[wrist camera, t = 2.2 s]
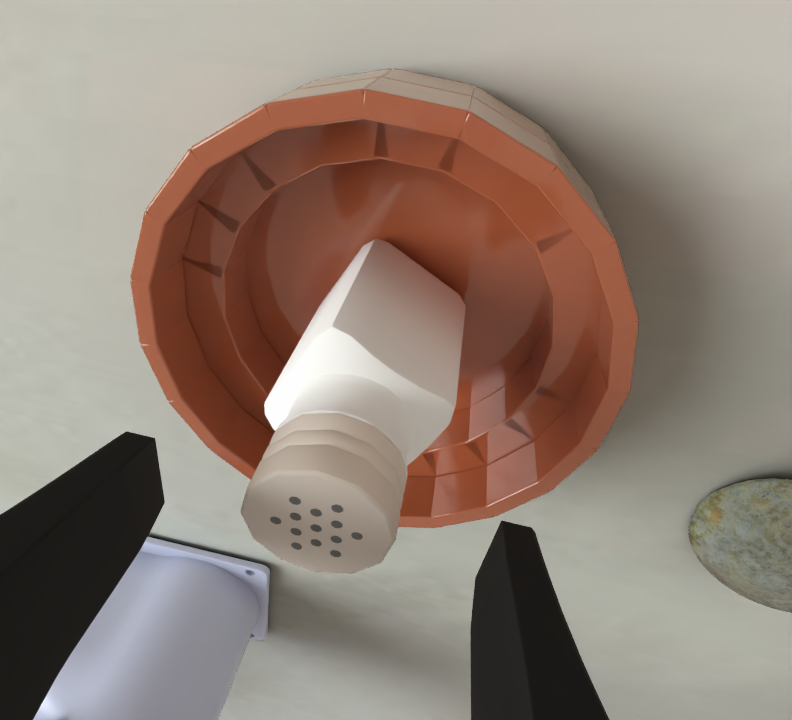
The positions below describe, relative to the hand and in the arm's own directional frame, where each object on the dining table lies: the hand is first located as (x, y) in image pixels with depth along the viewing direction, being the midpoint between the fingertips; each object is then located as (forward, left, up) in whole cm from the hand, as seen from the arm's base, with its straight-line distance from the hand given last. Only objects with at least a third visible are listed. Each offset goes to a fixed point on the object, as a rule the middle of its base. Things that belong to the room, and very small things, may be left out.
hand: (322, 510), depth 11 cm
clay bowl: (0, 0, -9) cm, 9 cm away
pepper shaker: (0, 0, -9) cm, 9 cm away
